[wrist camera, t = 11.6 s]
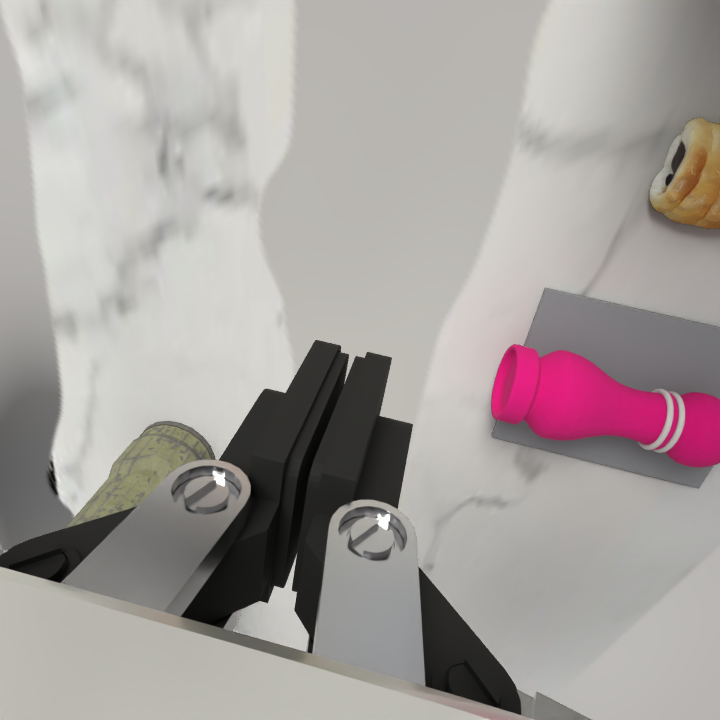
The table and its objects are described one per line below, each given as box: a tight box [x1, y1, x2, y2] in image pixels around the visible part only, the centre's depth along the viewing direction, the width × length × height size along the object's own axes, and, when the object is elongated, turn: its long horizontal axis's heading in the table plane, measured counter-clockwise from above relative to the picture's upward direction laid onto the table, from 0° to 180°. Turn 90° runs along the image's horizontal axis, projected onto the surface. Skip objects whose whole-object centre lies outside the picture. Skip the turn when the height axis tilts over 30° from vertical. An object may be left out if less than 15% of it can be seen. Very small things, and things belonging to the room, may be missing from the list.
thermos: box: [66, 421, 215, 528], centre depth 46 cm, size 9×12×35 cm
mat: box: [492, 288, 720, 488], centre depth 48 cm, size 15×19×1 cm
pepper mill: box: [491, 344, 720, 468], centre depth 45 cm, size 7×7×20 cm
